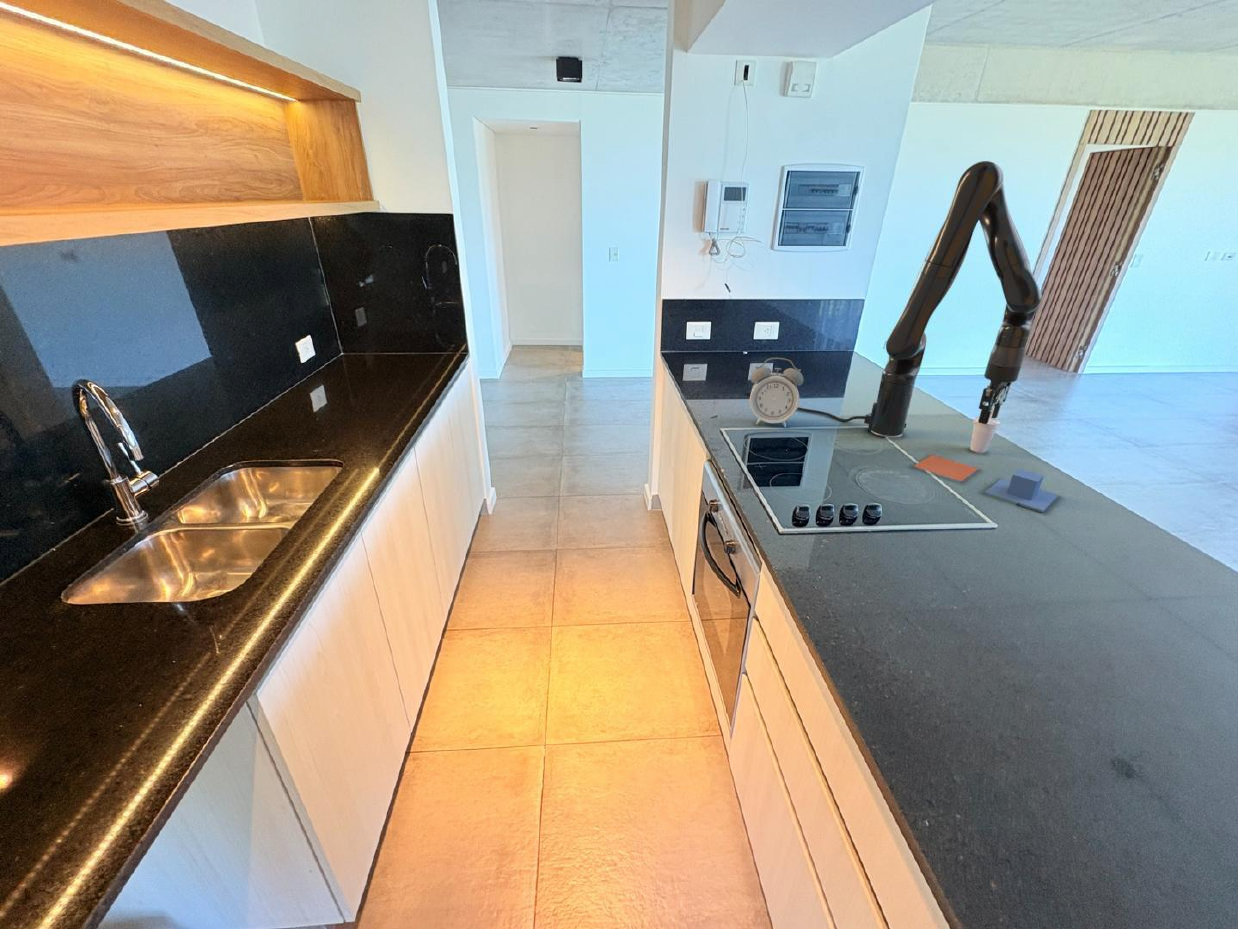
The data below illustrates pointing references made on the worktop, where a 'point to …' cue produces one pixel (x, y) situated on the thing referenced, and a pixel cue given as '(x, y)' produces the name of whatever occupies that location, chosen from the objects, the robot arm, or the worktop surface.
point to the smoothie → (983, 433)
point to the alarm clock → (775, 393)
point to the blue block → (1025, 484)
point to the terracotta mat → (946, 467)
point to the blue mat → (1036, 503)
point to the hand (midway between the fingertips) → (987, 420)
